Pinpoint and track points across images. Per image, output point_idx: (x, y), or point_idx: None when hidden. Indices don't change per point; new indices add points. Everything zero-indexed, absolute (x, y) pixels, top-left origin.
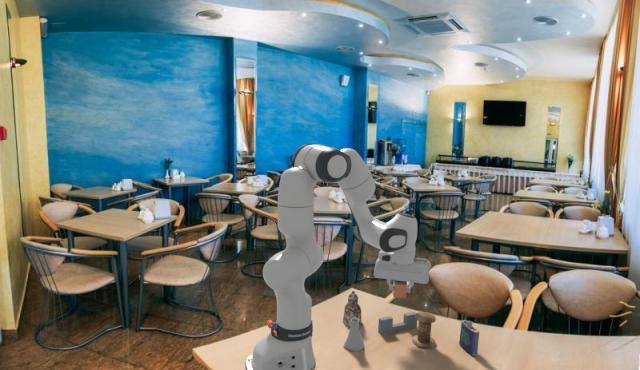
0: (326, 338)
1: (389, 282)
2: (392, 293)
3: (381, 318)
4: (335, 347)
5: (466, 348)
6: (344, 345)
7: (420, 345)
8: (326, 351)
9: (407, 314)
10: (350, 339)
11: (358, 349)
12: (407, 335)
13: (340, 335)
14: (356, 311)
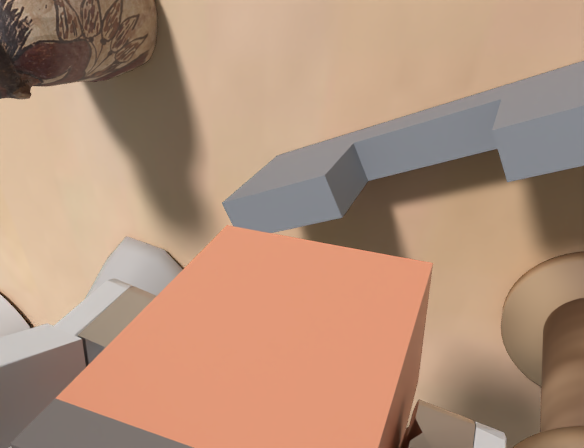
0: (28, 201)
1: (3, 431)
2: (224, 230)
3: (242, 210)
4: (83, 278)
5: None
6: None
7: (535, 381)
8: (60, 299)
9: (532, 150)
10: None
11: None
12: (496, 222)
13: (76, 180)
14: (46, 84)
